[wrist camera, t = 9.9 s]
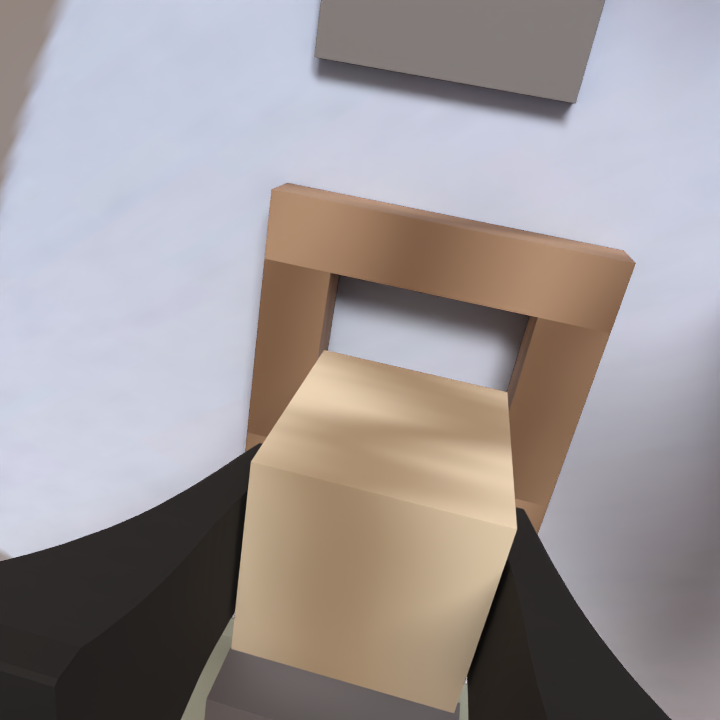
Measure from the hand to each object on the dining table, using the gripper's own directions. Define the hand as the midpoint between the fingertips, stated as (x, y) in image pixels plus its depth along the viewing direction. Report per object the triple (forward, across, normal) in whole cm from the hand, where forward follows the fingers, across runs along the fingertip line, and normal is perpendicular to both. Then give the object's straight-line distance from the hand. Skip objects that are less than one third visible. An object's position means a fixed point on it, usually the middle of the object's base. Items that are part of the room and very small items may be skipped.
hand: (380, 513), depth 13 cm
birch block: (+3, 0, 0) cm, 3 cm away
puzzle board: (+8, 0, +3) cm, 8 cm away
